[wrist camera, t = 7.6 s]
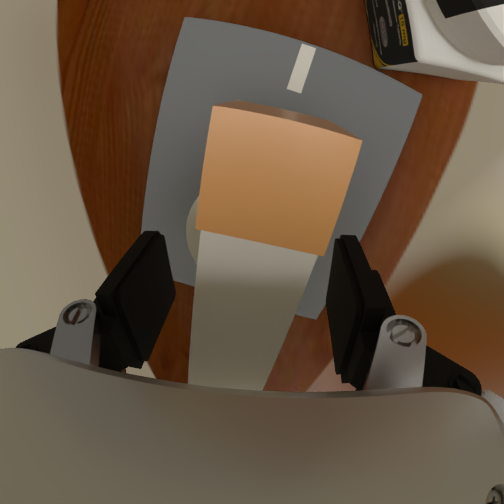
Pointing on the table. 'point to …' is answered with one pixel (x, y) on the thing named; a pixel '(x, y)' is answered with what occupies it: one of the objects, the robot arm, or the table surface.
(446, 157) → the table surface
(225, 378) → the grey and orange blocks
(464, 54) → the medicine bottle
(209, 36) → the coupling base
